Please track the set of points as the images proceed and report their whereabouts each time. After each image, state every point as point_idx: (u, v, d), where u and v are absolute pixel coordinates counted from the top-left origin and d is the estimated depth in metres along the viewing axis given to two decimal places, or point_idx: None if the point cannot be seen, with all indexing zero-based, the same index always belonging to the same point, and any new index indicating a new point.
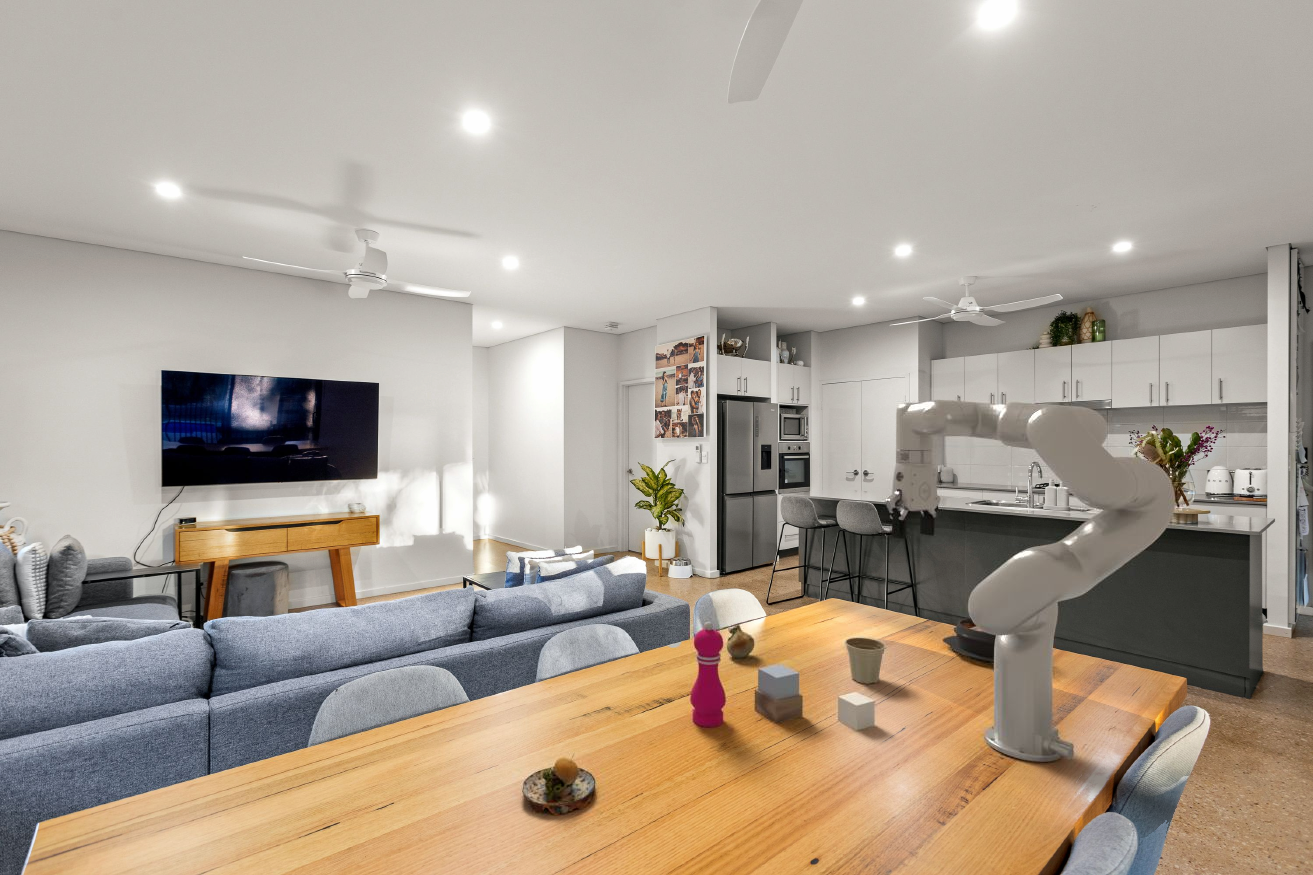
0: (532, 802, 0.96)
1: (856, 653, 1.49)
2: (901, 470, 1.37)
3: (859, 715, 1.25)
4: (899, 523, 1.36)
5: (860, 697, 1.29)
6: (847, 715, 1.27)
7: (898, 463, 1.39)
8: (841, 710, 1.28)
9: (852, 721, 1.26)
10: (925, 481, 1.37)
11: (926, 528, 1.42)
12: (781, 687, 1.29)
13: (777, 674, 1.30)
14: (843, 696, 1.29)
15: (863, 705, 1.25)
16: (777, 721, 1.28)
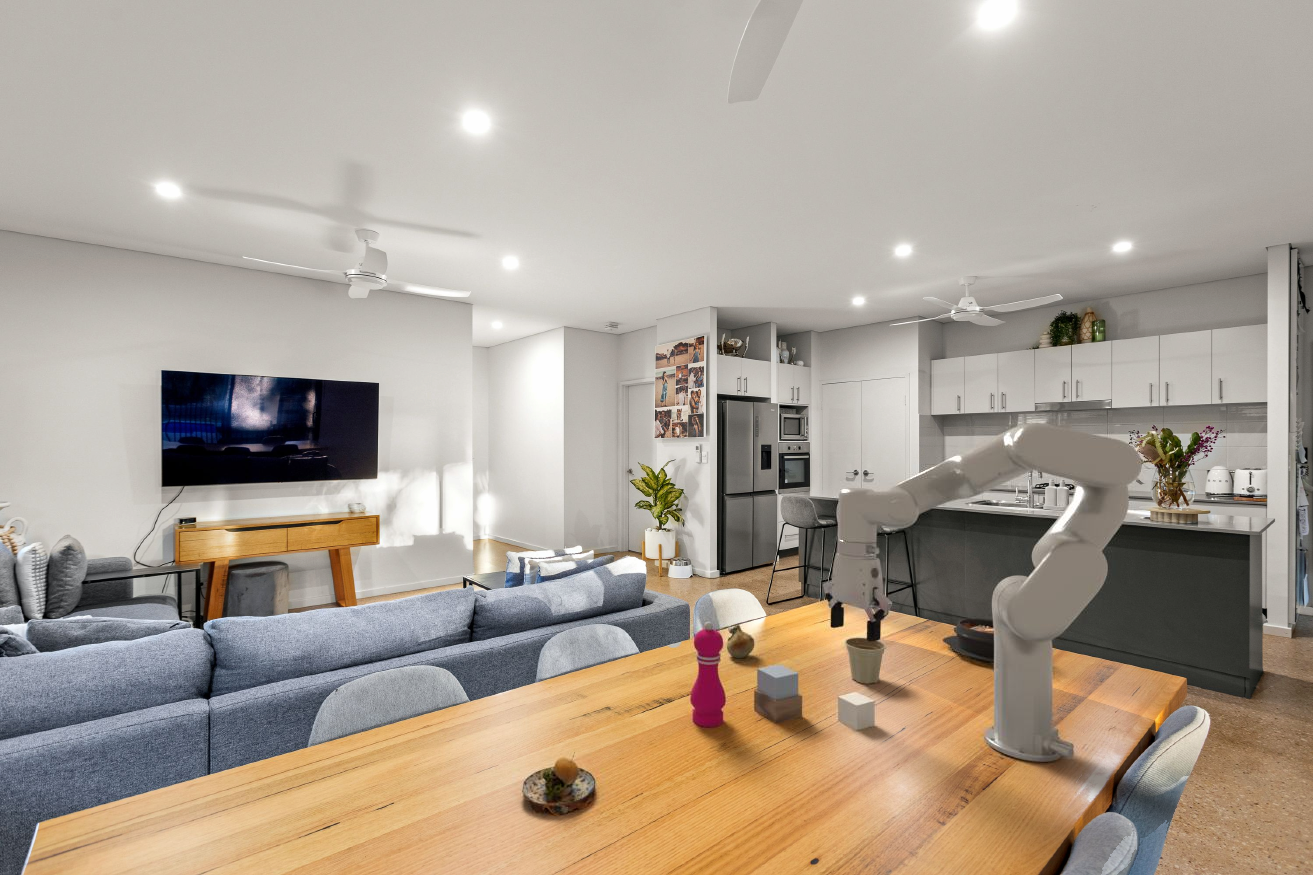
0: (532, 802, 0.96)
1: (856, 653, 1.49)
2: (875, 565, 1.24)
3: (859, 715, 1.25)
4: None
5: (860, 697, 1.29)
6: (846, 715, 1.27)
7: (864, 557, 1.25)
8: (841, 710, 1.28)
9: (852, 721, 1.26)
10: None
11: (838, 620, 1.32)
12: (780, 688, 1.29)
13: (776, 674, 1.30)
14: (843, 696, 1.29)
15: (863, 705, 1.25)
16: (777, 721, 1.28)
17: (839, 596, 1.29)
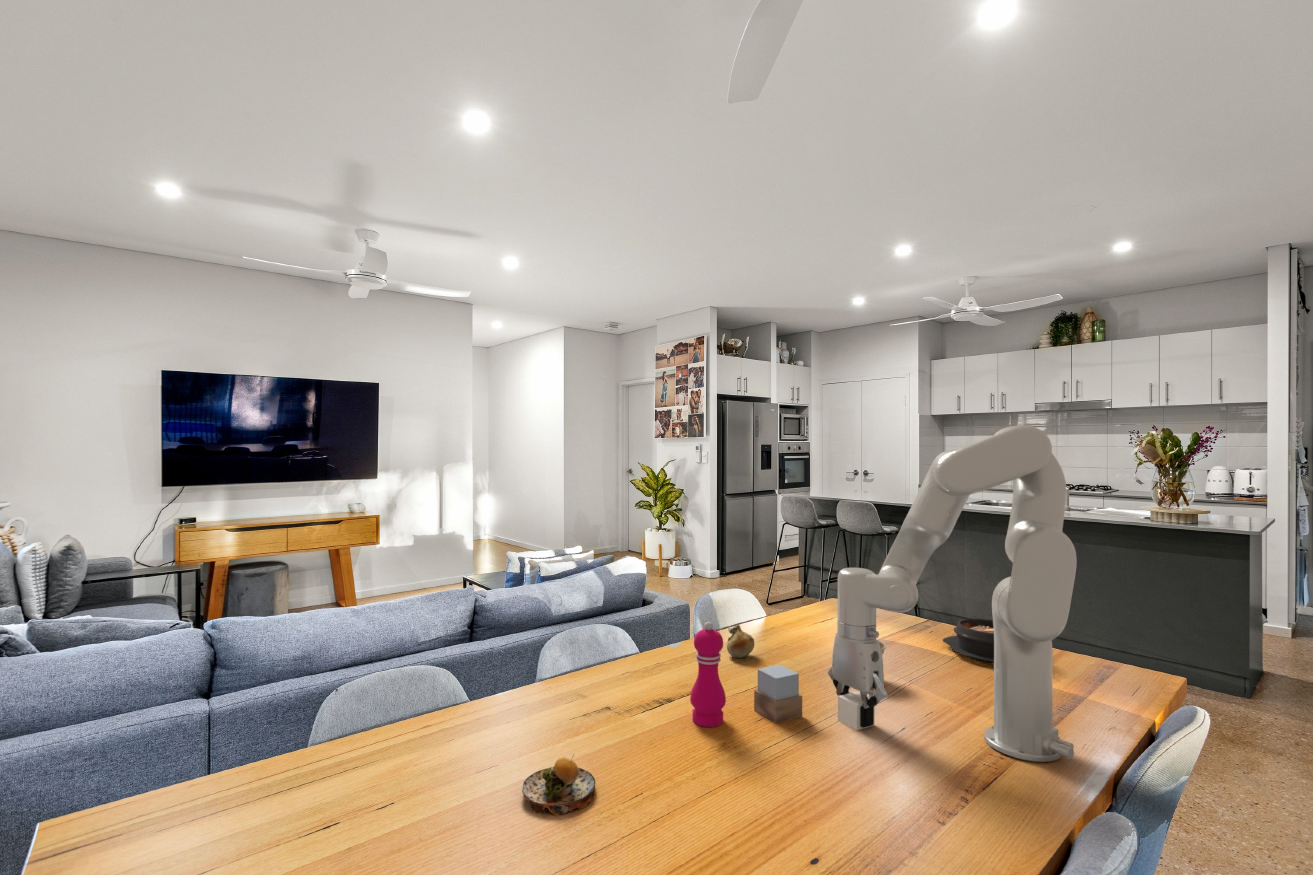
0: (532, 802, 0.96)
1: None
2: (875, 649, 1.24)
3: (859, 715, 1.25)
4: None
5: (860, 697, 1.29)
6: (846, 714, 1.27)
7: (864, 641, 1.24)
8: (841, 710, 1.28)
9: (852, 721, 1.26)
10: None
11: None
12: (781, 688, 1.29)
13: (777, 674, 1.30)
14: (843, 696, 1.29)
15: None
16: (777, 721, 1.27)
17: (840, 677, 1.29)
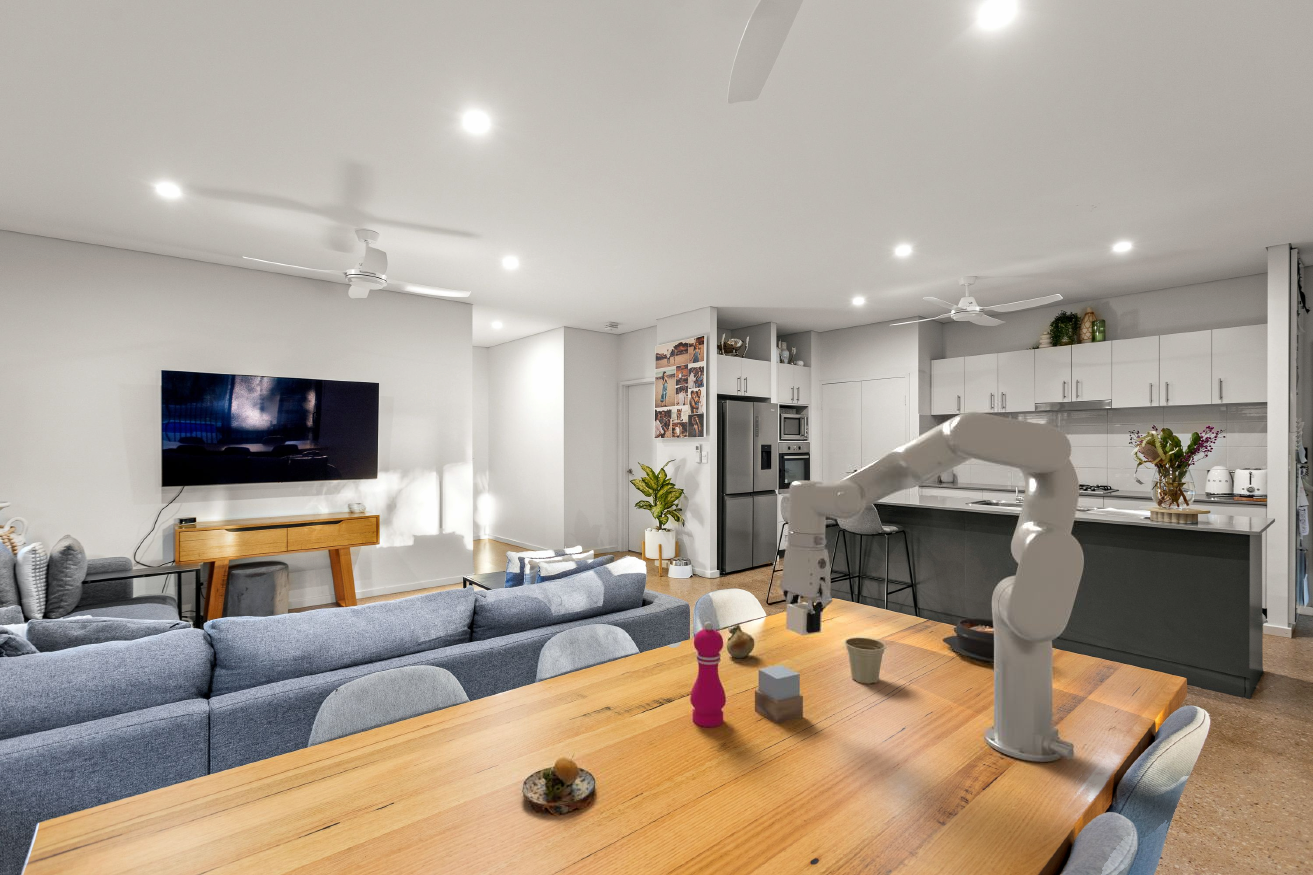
0: (532, 802, 0.96)
1: (856, 653, 1.49)
2: (822, 556, 1.27)
3: (806, 621, 1.28)
4: None
5: None
6: (794, 621, 1.30)
7: (812, 548, 1.27)
8: (789, 617, 1.31)
9: (798, 626, 1.29)
10: None
11: None
12: (782, 688, 1.29)
13: (778, 675, 1.30)
14: (792, 604, 1.32)
15: None
16: (777, 722, 1.27)
17: (789, 586, 1.32)
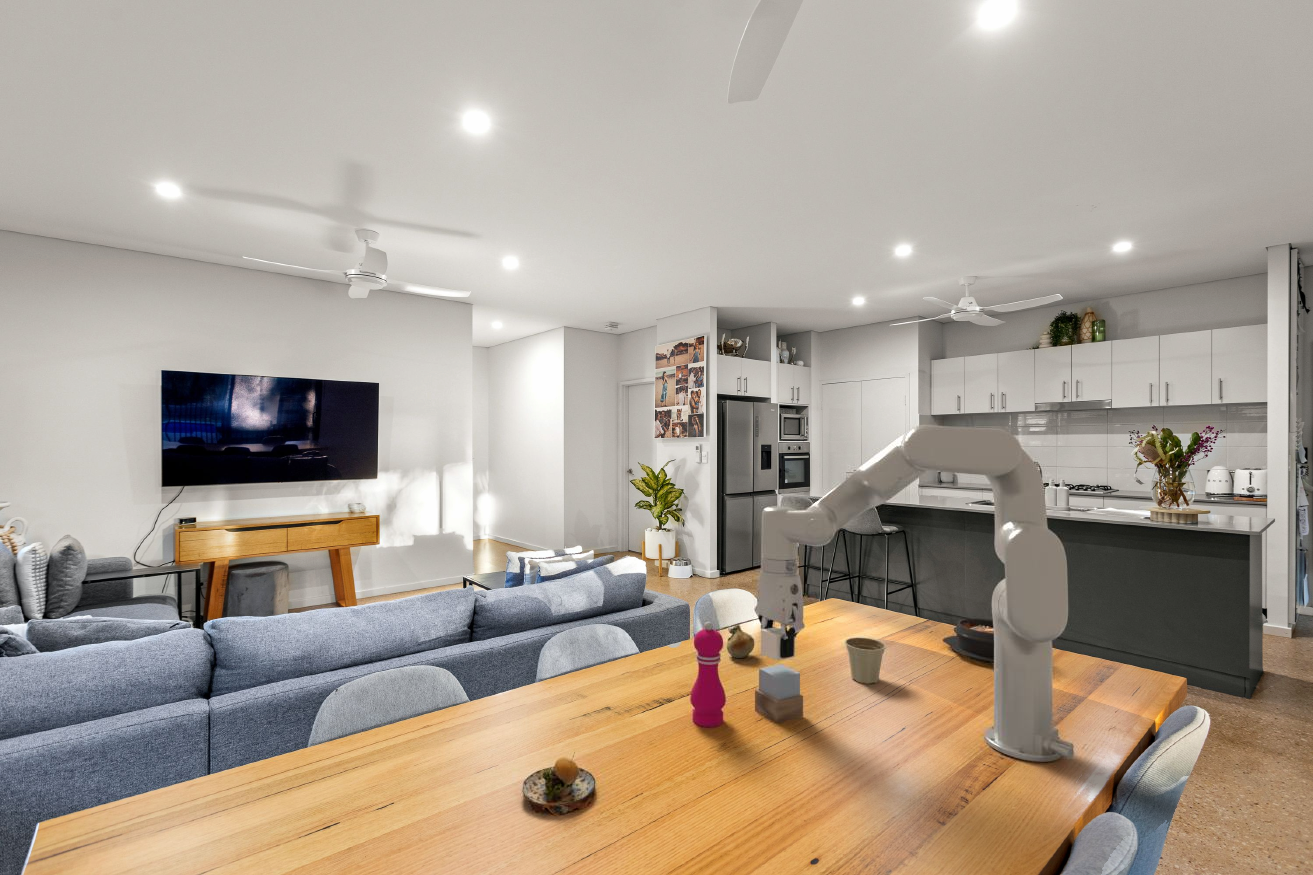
0: (532, 802, 0.96)
1: (856, 653, 1.49)
2: (795, 582, 1.29)
3: (779, 646, 1.29)
4: (792, 641, 1.30)
5: None
6: (768, 646, 1.31)
7: (784, 574, 1.29)
8: (764, 642, 1.32)
9: (772, 652, 1.30)
10: None
11: None
12: (782, 688, 1.29)
13: (778, 674, 1.30)
14: (766, 629, 1.33)
15: None
16: (778, 721, 1.27)
17: (763, 611, 1.33)
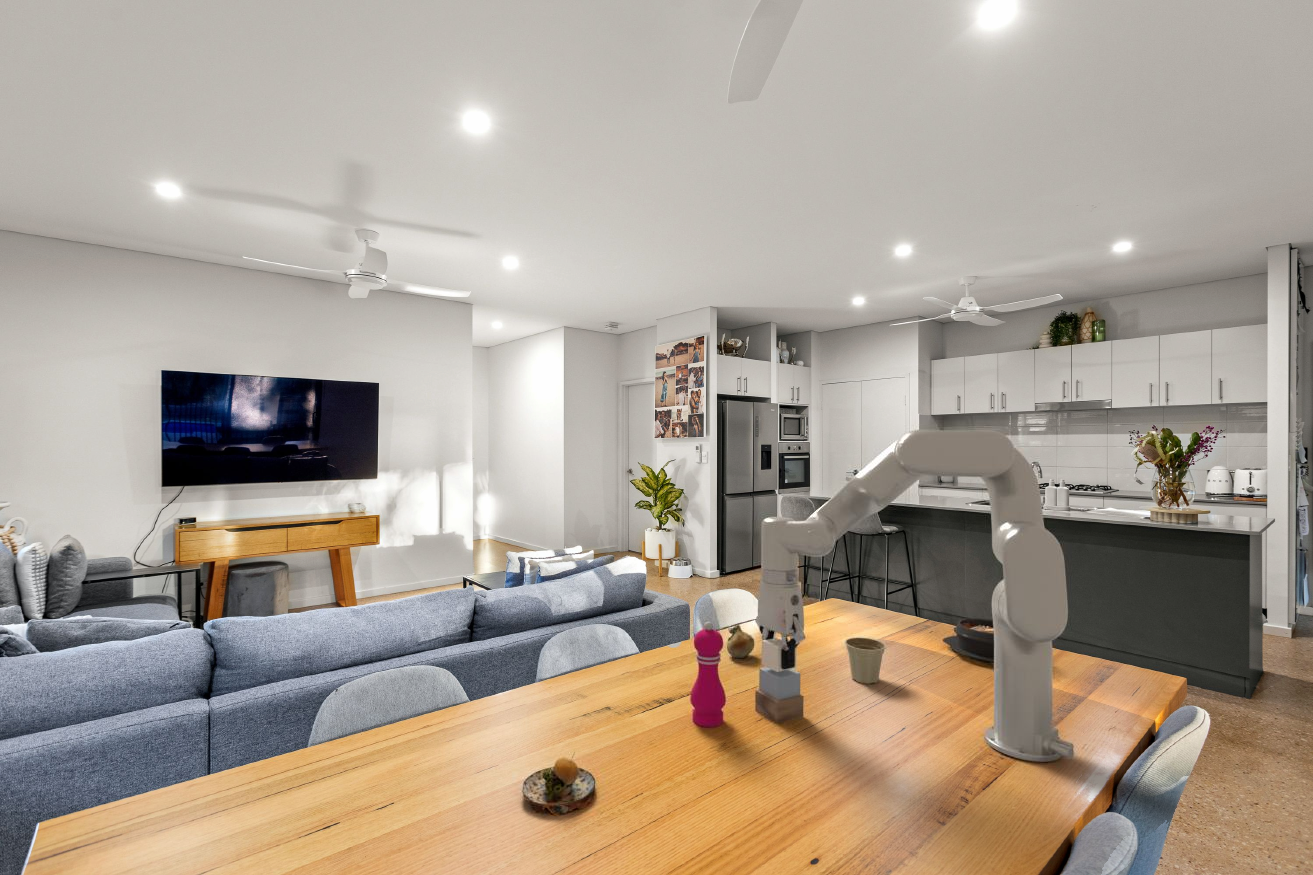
0: (532, 802, 0.96)
1: (856, 653, 1.49)
2: (795, 593, 1.28)
3: (780, 657, 1.29)
4: (793, 652, 1.29)
5: None
6: (769, 657, 1.31)
7: (785, 585, 1.29)
8: (765, 653, 1.32)
9: (773, 663, 1.30)
10: None
11: None
12: (782, 688, 1.29)
13: (778, 674, 1.30)
14: (767, 640, 1.33)
15: None
16: (778, 722, 1.27)
17: (764, 622, 1.33)
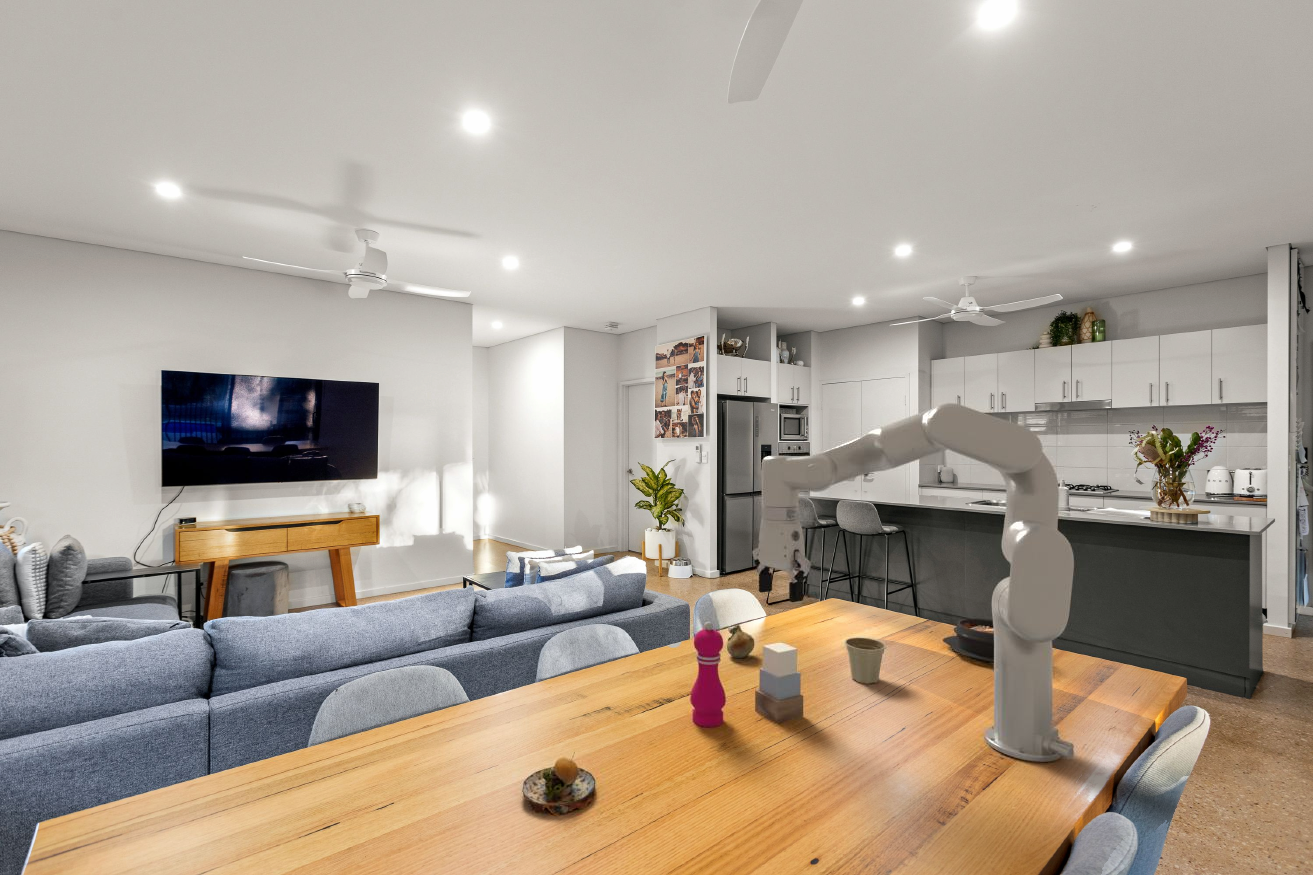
0: (532, 802, 0.97)
1: (856, 653, 1.49)
2: (796, 528, 1.29)
3: (782, 662, 1.29)
4: None
5: (784, 646, 1.33)
6: (770, 662, 1.31)
7: (785, 521, 1.29)
8: (766, 659, 1.32)
9: (775, 668, 1.30)
10: None
11: (767, 585, 1.36)
12: (783, 687, 1.29)
13: None
14: (768, 645, 1.33)
15: (785, 652, 1.30)
16: (778, 721, 1.27)
17: (765, 561, 1.33)
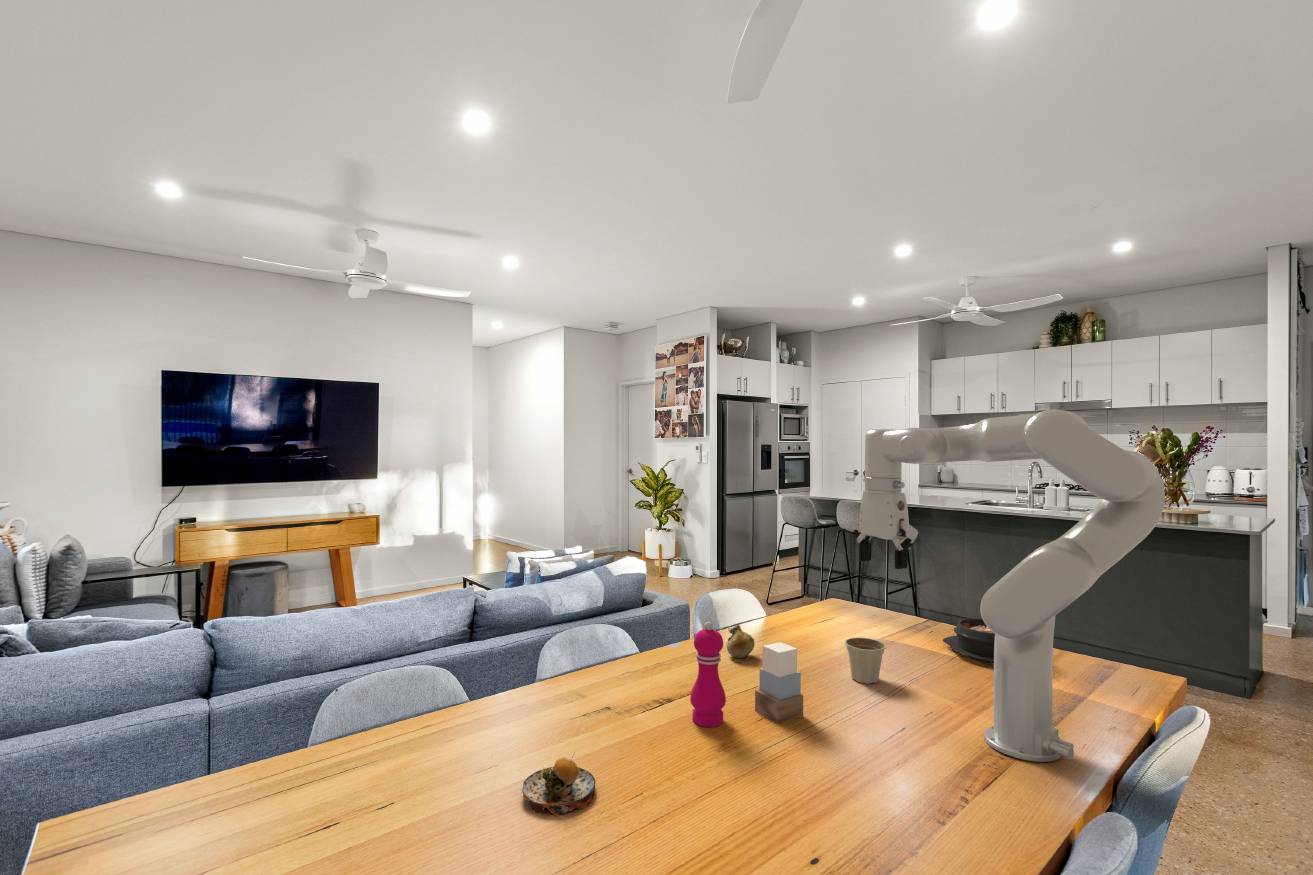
0: (532, 802, 0.96)
1: (856, 653, 1.49)
2: (901, 499, 1.34)
3: (782, 662, 1.29)
4: None
5: (784, 646, 1.33)
6: (770, 662, 1.31)
7: (891, 492, 1.34)
8: (766, 659, 1.32)
9: (775, 668, 1.30)
10: None
11: (866, 554, 1.42)
12: (784, 687, 1.29)
13: None
14: (768, 645, 1.33)
15: (785, 652, 1.30)
16: (779, 721, 1.27)
17: (867, 530, 1.39)
